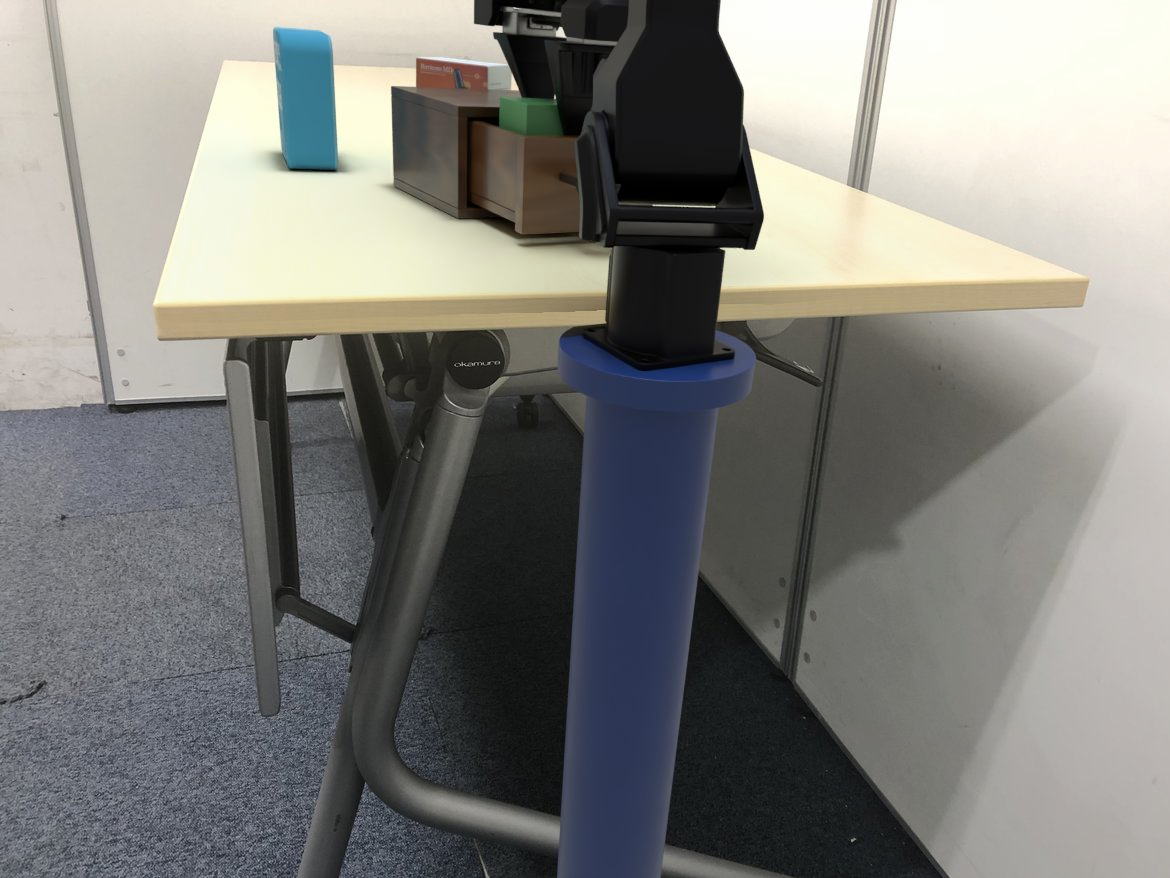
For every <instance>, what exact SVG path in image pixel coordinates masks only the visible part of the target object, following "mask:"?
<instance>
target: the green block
mask: <svg viewBox="0 0 1170 878" xmlns="http://www.w3.org/2000/svg"><path fill="white" fill-rule="evenodd" d="M590 112H592V108H591V111H590ZM499 127H501V128H504V129H507V130H510V131H514V132H517V133H520V134H523V135H563V136H564V134H563V130H562V126H561V122H560V117H559V112H558V107H557V102H556V98H554V99H547V98H517V97H500V116H499Z"/></svg>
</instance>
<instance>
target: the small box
mask: <svg viewBox="0 0 1170 878" xmlns="http://www.w3.org/2000/svg"><path fill="white" fill-rule="evenodd" d="M512 79H513V74H512V72H511V70H510V68H509V65H508V63H497V62H489V61H477V60H469V59H462V58H461V59H460V58H451V57H444V56H417V57H416V58H415V87H435V88H463V89H491V90H512Z"/></svg>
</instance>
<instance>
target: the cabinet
mask: <svg viewBox="0 0 1170 878" xmlns="http://www.w3.org/2000/svg"><path fill="white" fill-rule="evenodd" d="M390 95H391V96H390V99H391V101H390V103H391V137H392V138H391V140H392V175H393V187H395V188H397V189H399V190H401V191H403V192H405V193H407V194H409V195H410V196H412V197H415V198H417V199H419V200H420V201H422V202H424V203H426V204H428V205H431V206H432V207H435V208H436V209H438V210H440V211H442V212H444V213H447V214H448V215H450V216H452V217H455V219H487V218H489V219H490V218H503V217H502V216H500V215H498V214H495V213H493V212H491V211H489V210H487V209H485V208H483V207H480V206H478V205H476V204H474V203H472V202H470V201H468V200H467V117H491V118H499V116H500V97H517V98H522V97H521V94H520V92H519V89H518V90H515V89H511V90H491V89H463V88H435V87H416V86H404V85H401V86H400V85H391V86H390Z"/></svg>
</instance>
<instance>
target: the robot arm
mask: <svg viewBox="0 0 1170 878" xmlns="http://www.w3.org/2000/svg"><path fill="white" fill-rule="evenodd" d="M721 2H722V0H473V25H478V26H486V27H495V26H497V27H502V28H501V29H502V31H501V32H499V31H493V32H492V36H493V40H496V41H497V43H498V46H499V47H500V49H501V52H502V54H503V56H504V58H505V60H506V64H508V65H509V68H510V70H511V72H512V78H513V79H514V81H515V84H516V86H517V89H518V90H519V92H520V94H521V97H522V98H547V99H556V102H557V107H558V112H559V117H560V122H561V126H562V130H563V134H564V136H579V138H578V139H577V140H576V141H575V158H576V167H577V177H578V187H579V196H580V227H579V232H578V238H579V239H580V240H581V241H587V242H591V243H597V244H599V246H600V247H602V248H604V249H610V255H609V256H608V271H607V285H606V299H605V301H606V302H605V314H604V315H605V317H604V323H606V326H601V327H592V328H585V329H583V336H582V337H583V338H584V339H586V340H587V341H589V342H591V343H592V344H594V345H596V346H598V347H599V348H601V349H603V350H604V351H606V352H608V353H609V354H611V355H613V356H614V357H616V358H618V359H620V360H621V361H623V362H625V363H626V364H628V365H630V366H631V367H633V368H635V369H637V370H640V371H653V370H660V369H667V368H674V367H681V366H688V365H695V364H702V363H709V362H717V361H724V360H731V359H734V358H735V349H733V348H731V347H729V346H727V345H725V344H723V343H721V342H719V341H717V340H715V335H716V330H717V325H718V317H719V309H720V300H721V291H722V285H723V284H722V283H723V276H724V266H725V258H726V250H725V249H742V250H743V251H754V250H756V248H757V244H758V240H759V237H760V234H761V230H762V227H763V224H764V220H765V212H764V208H763V204H762V199H761V198H762V197H761V195H760V189H759V185H758V181H757V176H756V175H757V174H756V172H755V166H754V163H753V157H752V153H751V152H752V151H751V148H750V144H749V139H748V134H747V131H746V127H745V125H744V104H745V89H744V86H743V84H742V81H741V79H740V77H739V74H738V72H737V70H736V68H735V65H734V63H733V61H732V59H731V56H730V54H729V52H728V50H727V47H726V45H725V43H724V41H723V38H722V36H721V34H720V15H721V14H720V13H721ZM560 28H561V29H562V32H563V33H564V36H557V32H558V31H559V29H560ZM591 108H592V112H590V111H591ZM619 204H641V205H619ZM646 205H653V206H646Z"/></svg>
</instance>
